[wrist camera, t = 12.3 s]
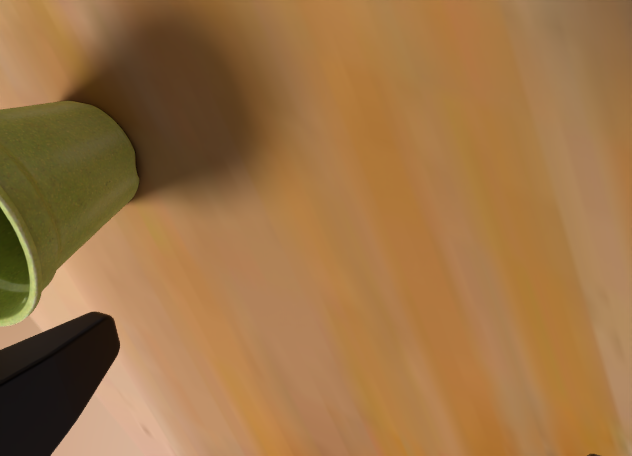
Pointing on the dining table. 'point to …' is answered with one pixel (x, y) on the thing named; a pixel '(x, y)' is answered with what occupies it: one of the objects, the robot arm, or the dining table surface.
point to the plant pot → (55, 192)
